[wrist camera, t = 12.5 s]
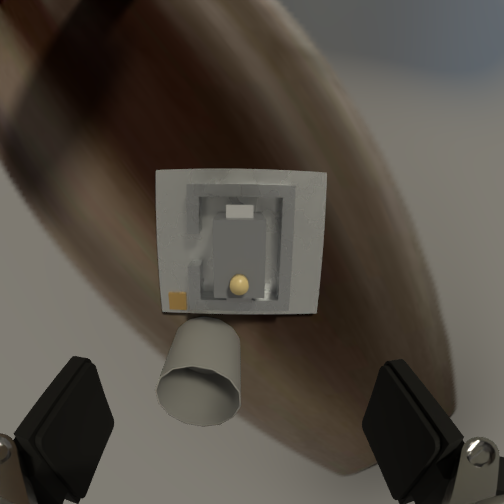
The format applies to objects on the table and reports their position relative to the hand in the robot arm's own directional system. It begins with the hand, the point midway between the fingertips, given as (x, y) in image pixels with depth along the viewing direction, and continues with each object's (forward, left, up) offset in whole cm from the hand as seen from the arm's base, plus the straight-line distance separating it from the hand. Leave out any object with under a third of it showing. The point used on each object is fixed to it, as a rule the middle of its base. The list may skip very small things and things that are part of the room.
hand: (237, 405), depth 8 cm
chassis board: (0, 0, -24) cm, 24 cm away
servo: (0, 0, -23) cm, 23 cm away
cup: (+13, -4, -24) cm, 28 cm away
